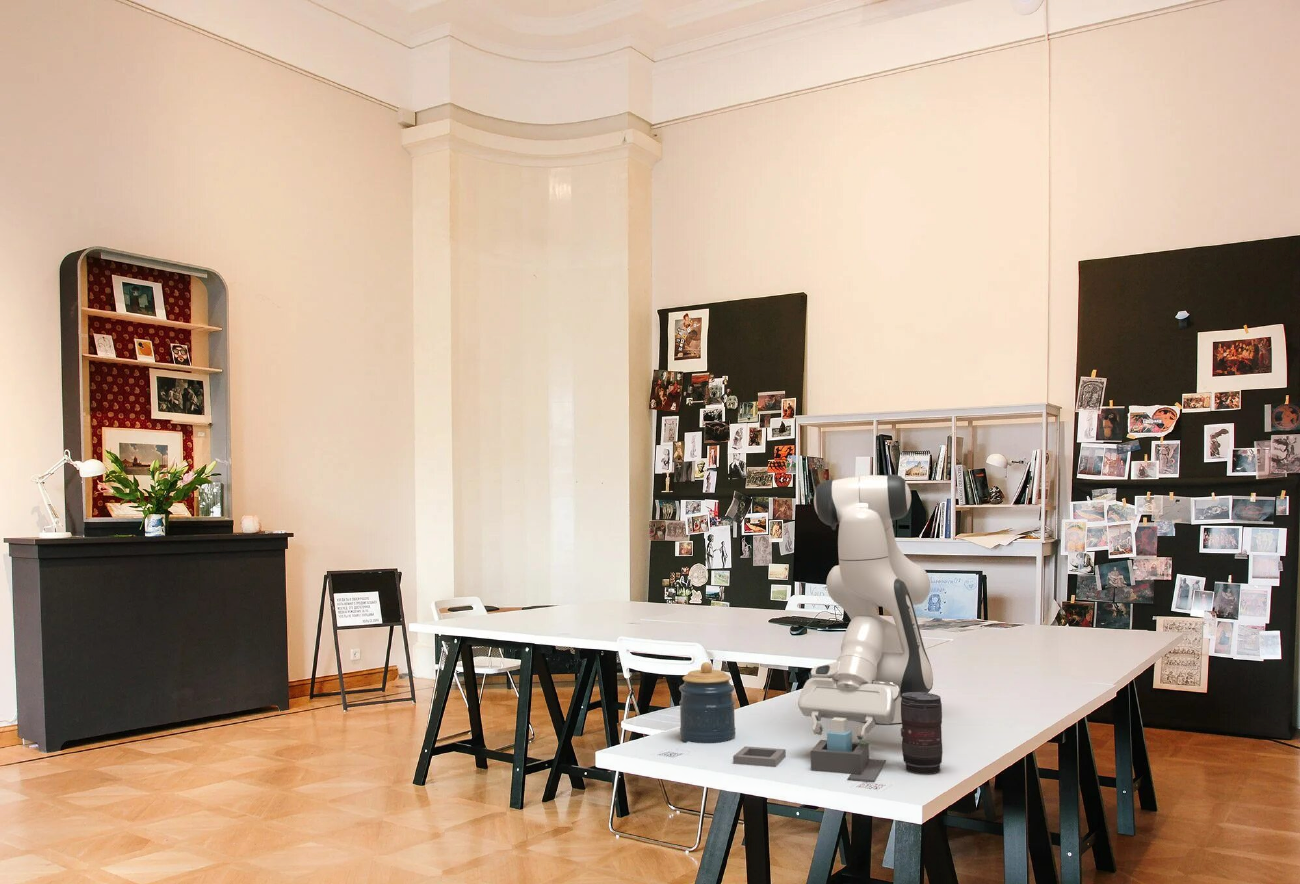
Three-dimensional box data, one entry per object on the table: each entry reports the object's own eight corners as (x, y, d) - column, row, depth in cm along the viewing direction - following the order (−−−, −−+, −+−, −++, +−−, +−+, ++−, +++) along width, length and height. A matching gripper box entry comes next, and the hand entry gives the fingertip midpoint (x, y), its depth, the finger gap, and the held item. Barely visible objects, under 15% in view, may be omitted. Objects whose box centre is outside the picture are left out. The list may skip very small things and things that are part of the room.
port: (810, 756, 214) (809, 732, 215) (885, 762, 209) (885, 737, 209) (793, 775, 200) (792, 750, 200) (874, 782, 194) (873, 756, 194)
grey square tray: (745, 755, 216) (744, 746, 216) (785, 758, 213) (785, 749, 213) (733, 765, 208) (733, 756, 208) (775, 769, 204) (775, 759, 205)
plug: (833, 763, 207) (832, 716, 208) (852, 765, 205) (851, 718, 206) (827, 767, 203) (826, 720, 204) (846, 770, 202) (845, 721, 202)
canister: (747, 738, 233) (745, 661, 234) (712, 748, 223) (710, 668, 224) (703, 730, 241) (702, 656, 242) (668, 740, 232) (667, 663, 233)
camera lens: (926, 777, 196) (924, 700, 197) (894, 769, 203) (892, 694, 204) (952, 770, 201) (949, 695, 202) (920, 762, 208) (917, 689, 209)
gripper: (904, 692, 209) (892, 749, 200) (813, 684, 220) (797, 738, 211) (897, 674, 206) (884, 731, 197) (805, 667, 216) (788, 721, 208)
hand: (838, 735), depth 204 cm, fingers open, 8 cm apart
